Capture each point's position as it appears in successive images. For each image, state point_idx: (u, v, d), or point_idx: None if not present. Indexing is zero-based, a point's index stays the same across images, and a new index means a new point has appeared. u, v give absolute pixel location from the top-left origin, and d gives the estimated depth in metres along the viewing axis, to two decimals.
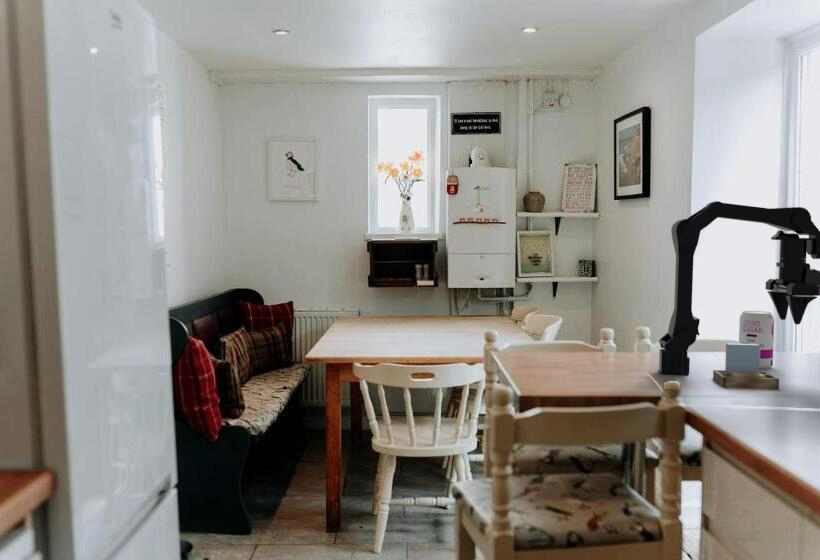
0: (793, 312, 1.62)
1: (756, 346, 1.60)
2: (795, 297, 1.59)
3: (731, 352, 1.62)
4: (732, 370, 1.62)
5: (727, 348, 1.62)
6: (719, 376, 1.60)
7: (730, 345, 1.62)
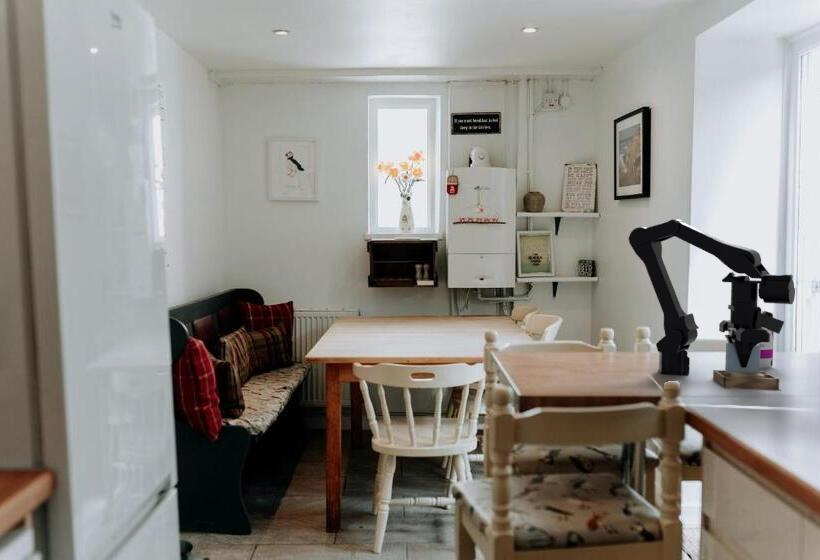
0: (739, 355, 1.60)
1: (756, 346, 1.60)
2: (740, 341, 1.58)
3: (731, 352, 1.62)
4: (732, 370, 1.62)
5: (727, 348, 1.62)
6: (719, 376, 1.60)
7: (730, 345, 1.62)
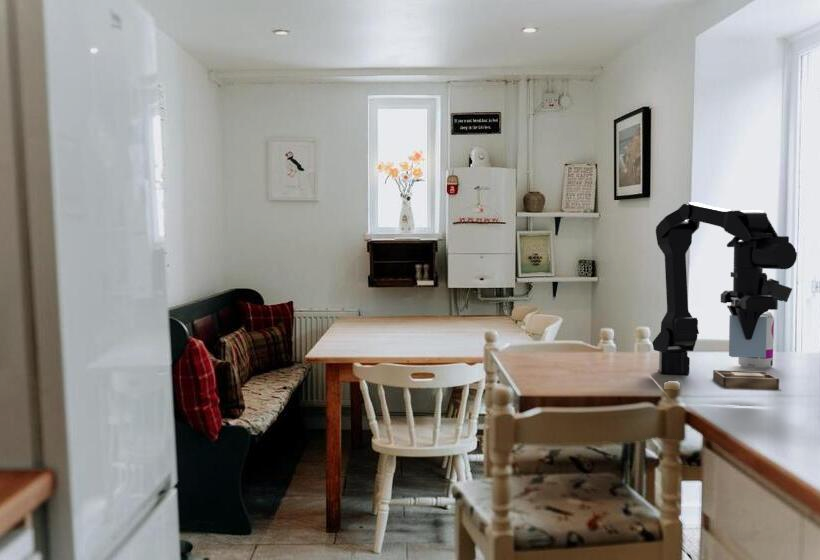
0: (744, 326, 1.47)
1: (762, 317, 1.47)
2: (744, 310, 1.44)
3: (735, 324, 1.48)
4: (737, 344, 1.48)
5: (731, 320, 1.49)
6: (719, 376, 1.60)
7: (734, 317, 1.48)
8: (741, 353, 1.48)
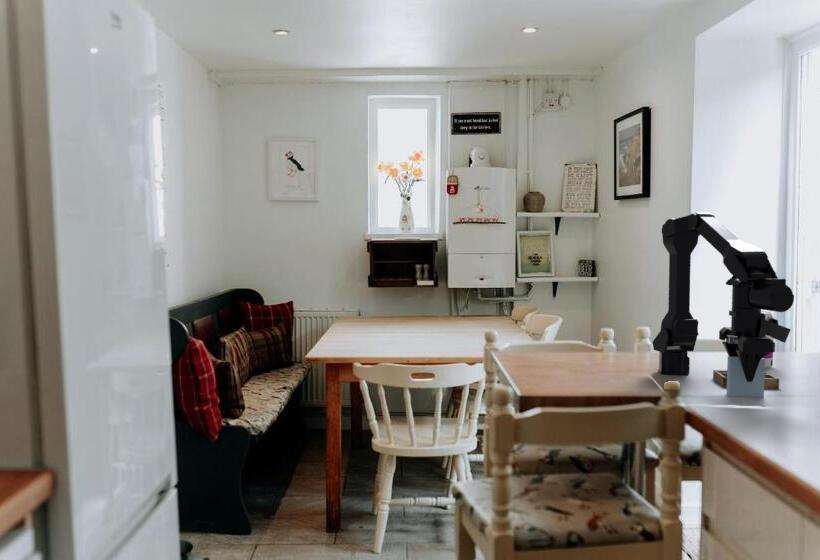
0: (745, 368, 1.43)
1: (761, 360, 1.46)
2: (745, 353, 1.41)
3: (733, 366, 1.47)
4: (735, 386, 1.47)
5: (729, 362, 1.48)
6: (719, 376, 1.60)
7: (732, 359, 1.47)
8: (738, 395, 1.47)
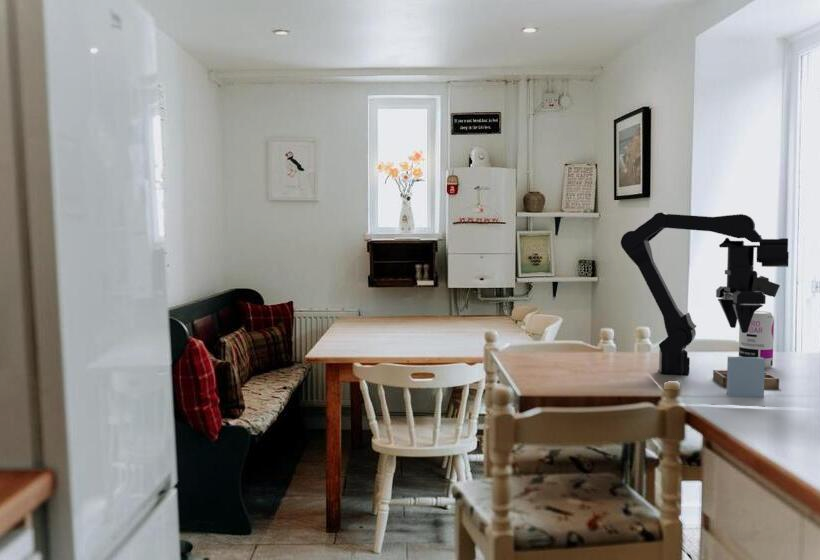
0: (740, 320, 1.60)
1: (761, 360, 1.46)
2: (741, 305, 1.57)
3: (733, 366, 1.47)
4: (735, 386, 1.47)
5: (729, 362, 1.48)
6: (719, 376, 1.60)
7: (732, 359, 1.47)
8: (738, 395, 1.47)
